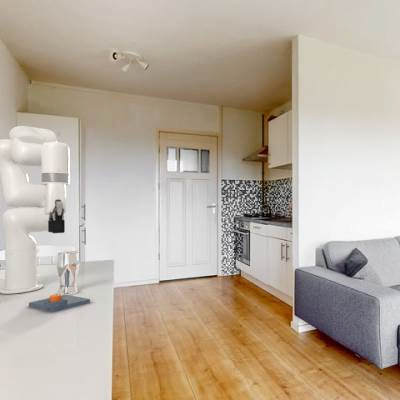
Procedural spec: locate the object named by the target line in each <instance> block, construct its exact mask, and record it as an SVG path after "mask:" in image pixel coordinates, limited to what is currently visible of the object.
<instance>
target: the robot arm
mask: <svg viewBox="0 0 400 400" xmlns="http://www.w3.org/2000/svg"><path fill="white" fill-rule="evenodd" d="M22 166H25V167H27V166H28V167H41V168H40V169H41V183H31V182H30V179H29V174H28V172H27V171H26V170H25V169H24V168H23V167H22ZM70 166H71V165H70V146H69V145H68V144H67V143H65V142H61V141H58V138H57V135H56V133H55V132H54V131H52V130H51V129H49V128H41V127H35V126H28V125H17V126H15V127H12V129H10V130H9V132H8V138H4V139H3V138H2V139H0V181H1V188H2V194H3V200H4V202H5V204H6V205H7V206H8V207H12V208H9V209H7V210H5V211H4V212H3V214H2V215H1V222H2V229H3V233H4V234H3V235H4V253H5V254H4V258H5V259H4V260H5V261H4V267H5V269H4V287H2V288H0V294H2V295H3V294H4V295H13V294H22V293H29V292H33V291H37V290H40V289H42V288H43V284H42V283H38V243H37V240H36V239H35V238H34V237H33V236H31V234H30V233H38V232H40V233H41V232H48V233H51V234H64V233H65V231H66V230H65V229H66V226H65V225H66V223H65V214H66V211H67V186H70V185H71V174H70V173H71V172H70V168H71V167H70Z"/></svg>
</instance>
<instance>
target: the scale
mask: <svg viewBox="0 0 400 400" xmlns="http://www.w3.org/2000/svg"><path fill="white" fill-rule="evenodd" d="M87 304H91V299H90V298H86V297H81V296H76V295H72V294H70V295H66V294H65V295H62V300H60V301H55V302H50V297H48V298H47V297H46V298H43V299H39V300H38V299H37V300H34V301H29V302H28V307H29V308H31V309H37V310H41V311H45V312H49V313H57V312H61V311H64V310H68V309H72V308H76V307H80V306H84V305H87Z"/></svg>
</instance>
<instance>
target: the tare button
mask: <svg viewBox="0 0 400 400" xmlns="http://www.w3.org/2000/svg"><path fill="white" fill-rule="evenodd" d="M49 298H50V302H55V301H60V300H62V295H61V294H58V293H57V294H52V295H49Z"/></svg>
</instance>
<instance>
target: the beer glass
mask: <svg viewBox="0 0 400 400" xmlns="http://www.w3.org/2000/svg"><path fill="white" fill-rule="evenodd" d="M55 262H56V264H55V265H56V273H57V278H58V291H57V294H61V295H65V294H66V295H75V294H77V293H78V292H79V290H78V289H79V288H78V285H77V284H78V283H77V281H78V277H79V276H78V275H79V271H80V253H79V250H71V251H70V250H69V251H60V252H57V253H56V261H55Z"/></svg>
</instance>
